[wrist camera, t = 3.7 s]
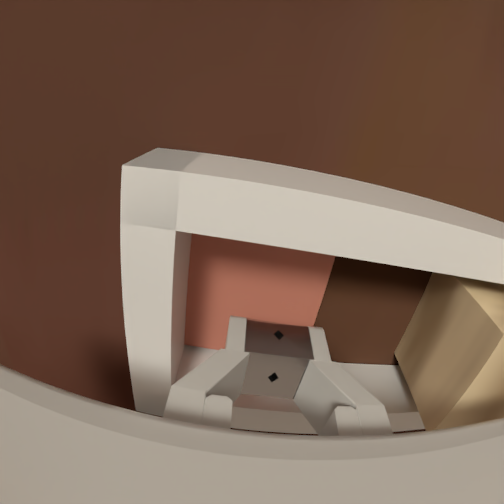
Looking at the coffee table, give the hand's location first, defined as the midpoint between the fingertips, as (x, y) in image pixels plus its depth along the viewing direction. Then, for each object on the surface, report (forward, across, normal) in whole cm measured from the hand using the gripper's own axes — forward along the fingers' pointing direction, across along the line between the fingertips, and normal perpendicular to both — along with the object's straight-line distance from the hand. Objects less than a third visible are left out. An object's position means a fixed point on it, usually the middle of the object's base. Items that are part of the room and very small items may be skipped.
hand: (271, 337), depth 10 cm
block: (+2, -9, 0) cm, 9 cm away
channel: (+2, -5, 0) cm, 5 cm away
